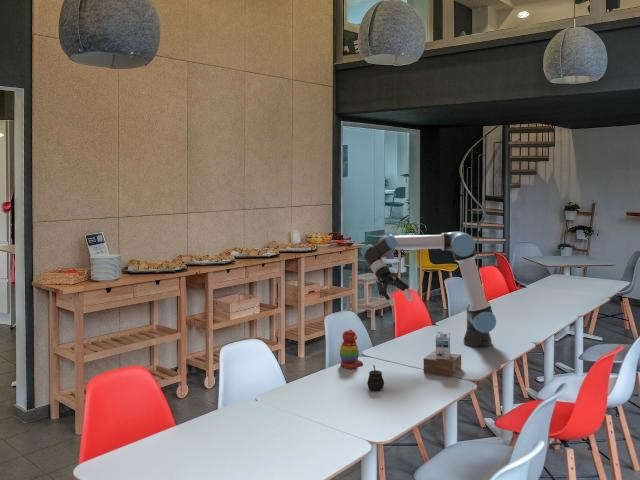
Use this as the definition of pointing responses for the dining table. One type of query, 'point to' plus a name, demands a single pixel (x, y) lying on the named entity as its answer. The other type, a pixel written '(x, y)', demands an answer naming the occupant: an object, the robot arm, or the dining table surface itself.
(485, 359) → the dining table surface
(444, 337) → the light bulb box
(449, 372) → the walnut block
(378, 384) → the mate gourd
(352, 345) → the stacking bear
